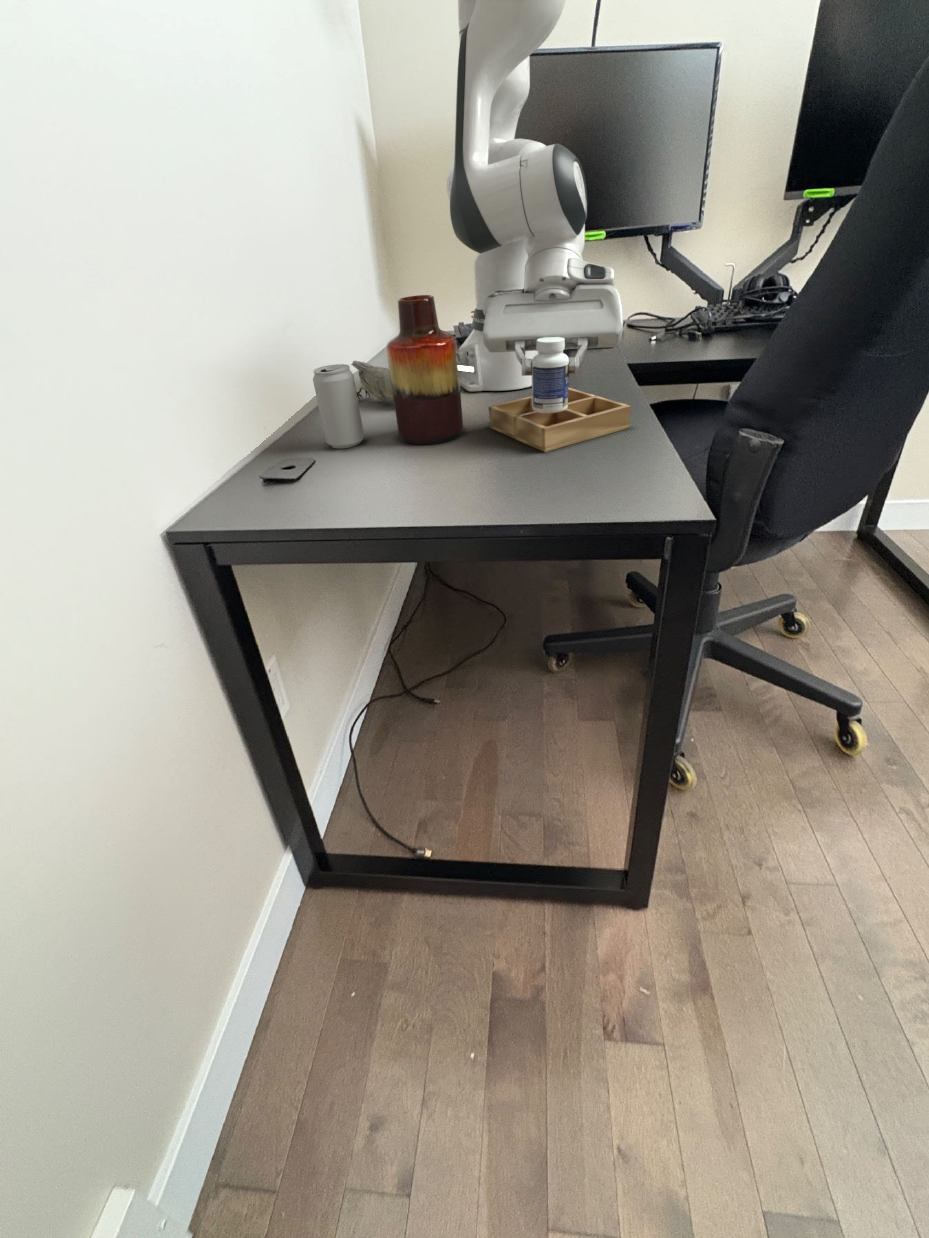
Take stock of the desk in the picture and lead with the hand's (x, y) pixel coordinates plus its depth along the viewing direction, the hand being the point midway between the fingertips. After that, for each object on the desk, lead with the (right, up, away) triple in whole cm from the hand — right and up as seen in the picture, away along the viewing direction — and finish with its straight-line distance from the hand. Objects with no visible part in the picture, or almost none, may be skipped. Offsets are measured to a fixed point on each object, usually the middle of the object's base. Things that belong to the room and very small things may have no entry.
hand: (550, 372), depth 87 cm
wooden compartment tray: (+3, -5, +10) cm, 12 cm away
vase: (-18, -5, +13) cm, 23 cm away
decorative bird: (-28, +7, +32) cm, 43 cm away
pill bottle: (0, -4, +4) cm, 6 cm away
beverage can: (-32, -7, +13) cm, 36 cm away
